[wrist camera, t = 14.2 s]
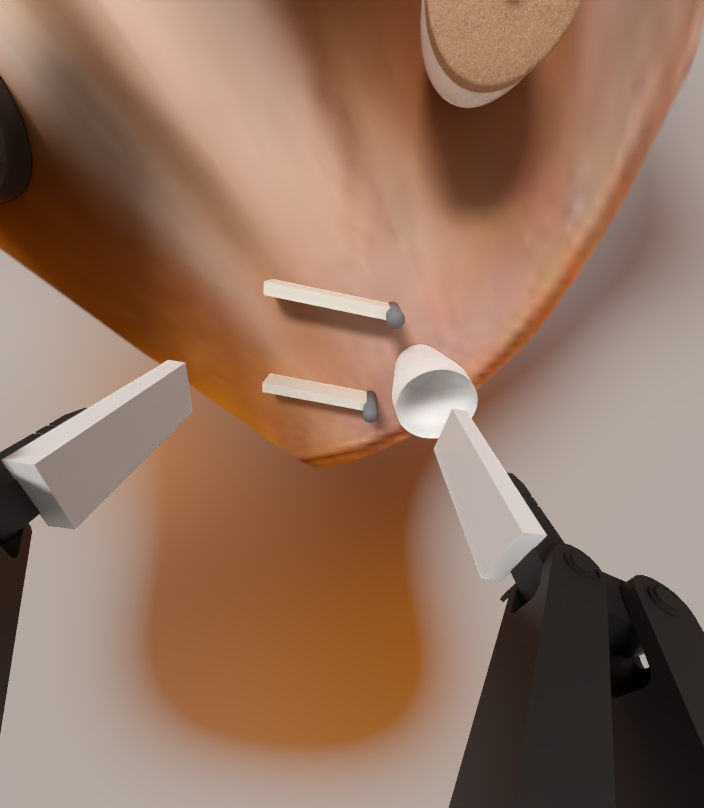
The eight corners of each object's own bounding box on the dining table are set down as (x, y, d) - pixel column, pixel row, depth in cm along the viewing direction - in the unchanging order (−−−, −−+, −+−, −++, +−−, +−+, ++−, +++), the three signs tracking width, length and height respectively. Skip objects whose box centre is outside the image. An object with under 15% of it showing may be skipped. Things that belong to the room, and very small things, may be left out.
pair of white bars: (269, 383, 41) (256, 401, 36) (273, 276, 33) (256, 281, 28) (374, 402, 42) (375, 423, 37) (400, 303, 34) (407, 312, 29)
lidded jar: (521, 118, 25) (593, 55, 17) (410, 138, 26) (429, 88, 18) (549, -76, 20) (672, -299, 12) (409, -41, 21) (435, -223, 13)
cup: (378, 349, 38) (382, 385, 27) (440, 325, 36) (470, 354, 25) (397, 400, 42) (407, 448, 31) (454, 381, 40) (485, 426, 29)
